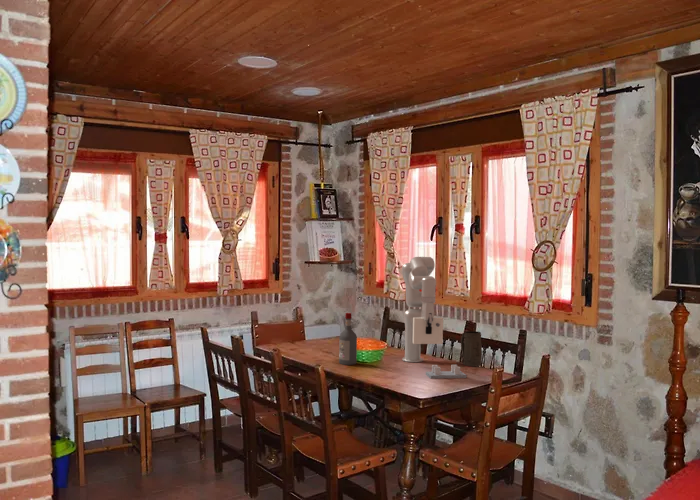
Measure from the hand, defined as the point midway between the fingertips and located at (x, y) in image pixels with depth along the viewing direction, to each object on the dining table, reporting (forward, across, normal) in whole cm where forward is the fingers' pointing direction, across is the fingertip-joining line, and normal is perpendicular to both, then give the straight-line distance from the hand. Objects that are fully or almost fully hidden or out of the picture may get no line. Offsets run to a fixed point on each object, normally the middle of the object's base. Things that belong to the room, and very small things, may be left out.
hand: (427, 333), depth 331 cm
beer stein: (+23, -30, +33) cm, 50 cm away
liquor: (+23, -33, -40) cm, 57 cm away
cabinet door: (+6, 0, 0) cm, 6 cm away
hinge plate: (+23, +2, +10) cm, 25 cm away
